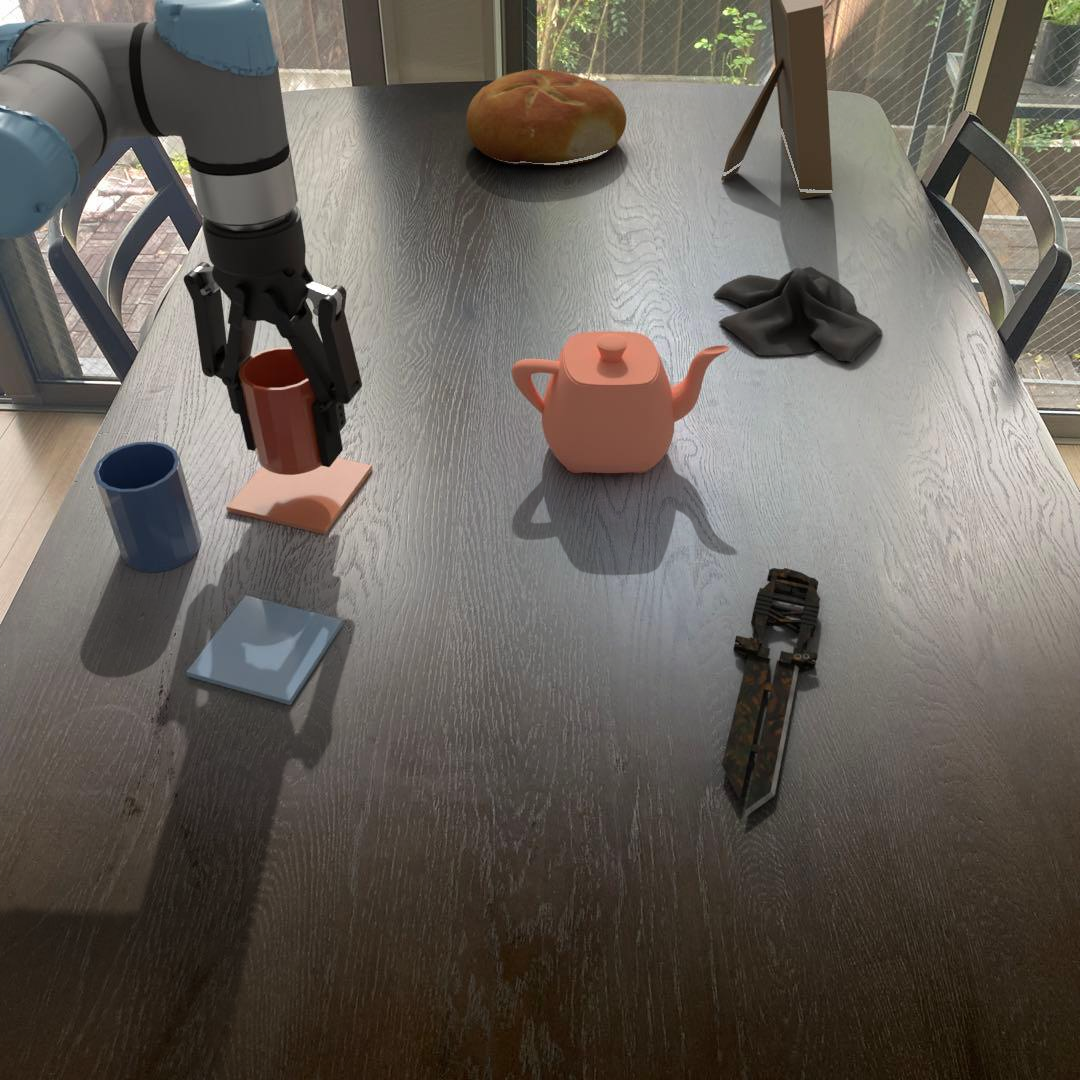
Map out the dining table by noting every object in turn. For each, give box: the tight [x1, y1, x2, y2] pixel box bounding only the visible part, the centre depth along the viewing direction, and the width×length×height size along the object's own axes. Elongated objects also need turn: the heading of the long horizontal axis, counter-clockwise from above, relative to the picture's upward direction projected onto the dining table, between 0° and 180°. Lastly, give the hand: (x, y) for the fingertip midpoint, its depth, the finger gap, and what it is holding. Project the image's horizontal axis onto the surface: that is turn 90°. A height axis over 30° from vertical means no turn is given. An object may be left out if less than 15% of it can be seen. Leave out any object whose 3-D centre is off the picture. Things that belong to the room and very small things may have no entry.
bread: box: [465, 69, 627, 167], centre depth 160 cm, size 23×23×10 cm
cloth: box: [712, 266, 883, 363], centre depth 124 cm, size 22×19×6 cm
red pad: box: [226, 457, 374, 536], centre depth 101 cm, size 10×10×1 cm
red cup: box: [239, 346, 322, 475], centre depth 96 cm, size 7×7×9 cm
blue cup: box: [93, 440, 202, 573], centre depth 93 cm, size 7×7×9 cm
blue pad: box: [186, 594, 344, 706], centre depth 86 cm, size 9×9×1 cm
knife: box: [721, 567, 821, 819], centre depth 83 cm, size 25×6×1 cm, turn 157°
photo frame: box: [720, 0, 834, 200], centre depth 149 cm, size 15×22×25 cm
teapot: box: [511, 330, 730, 474], centre depth 103 cm, size 13×20×12 cm, turn 90°
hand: (295, 449), depth 98 cm, fingers closed on red cup, 7 cm apart
